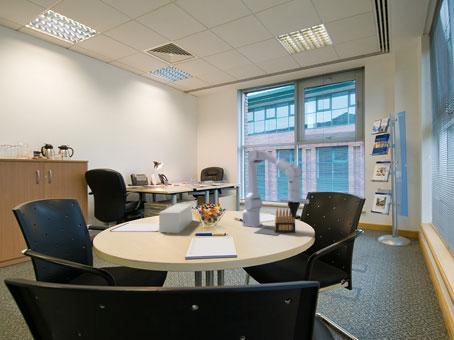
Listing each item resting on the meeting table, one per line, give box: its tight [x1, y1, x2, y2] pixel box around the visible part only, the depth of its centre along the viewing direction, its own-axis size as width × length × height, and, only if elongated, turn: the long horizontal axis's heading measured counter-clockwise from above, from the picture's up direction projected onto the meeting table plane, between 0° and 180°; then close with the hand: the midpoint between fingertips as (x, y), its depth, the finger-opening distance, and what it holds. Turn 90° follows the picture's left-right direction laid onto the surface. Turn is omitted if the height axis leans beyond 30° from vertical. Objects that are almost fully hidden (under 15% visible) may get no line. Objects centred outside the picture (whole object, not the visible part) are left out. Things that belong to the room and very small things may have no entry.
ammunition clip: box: [274, 208, 296, 234], centre depth 133 cm, size 11×2×12 cm, turn 97°
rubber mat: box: [254, 225, 281, 237], centre depth 137 cm, size 12×16×1 cm
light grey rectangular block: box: [158, 203, 194, 234], centre depth 151 cm, size 32×11×11 cm, turn 175°
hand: (294, 217), depth 131 cm, fingers closed
